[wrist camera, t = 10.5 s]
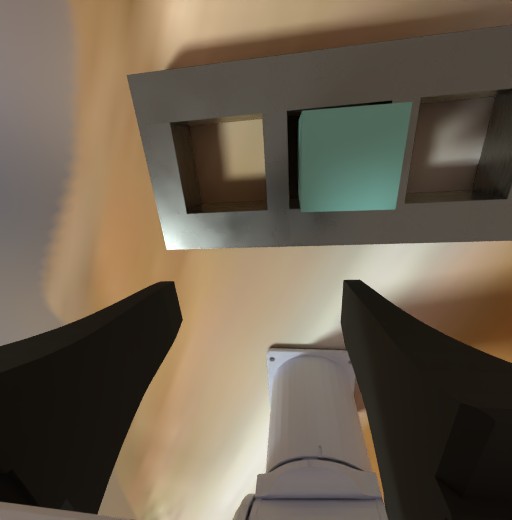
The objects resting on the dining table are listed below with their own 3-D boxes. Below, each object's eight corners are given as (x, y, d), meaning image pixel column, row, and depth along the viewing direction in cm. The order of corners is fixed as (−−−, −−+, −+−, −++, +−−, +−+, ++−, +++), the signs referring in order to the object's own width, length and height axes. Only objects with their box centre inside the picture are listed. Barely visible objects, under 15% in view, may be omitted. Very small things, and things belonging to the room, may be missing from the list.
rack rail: (494, 225, 17) (531, 239, 15) (183, 235, 21) (166, 249, 18) (550, 38, 13) (617, 11, 11) (153, 86, 17) (126, 75, 14)
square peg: (357, 185, 17) (395, 209, 11) (297, 187, 18) (301, 212, 12) (363, 118, 16) (412, 101, 10) (297, 123, 16) (302, 110, 10)
